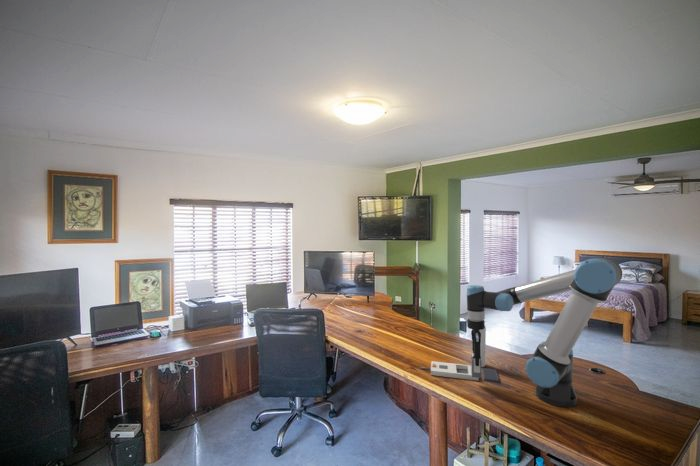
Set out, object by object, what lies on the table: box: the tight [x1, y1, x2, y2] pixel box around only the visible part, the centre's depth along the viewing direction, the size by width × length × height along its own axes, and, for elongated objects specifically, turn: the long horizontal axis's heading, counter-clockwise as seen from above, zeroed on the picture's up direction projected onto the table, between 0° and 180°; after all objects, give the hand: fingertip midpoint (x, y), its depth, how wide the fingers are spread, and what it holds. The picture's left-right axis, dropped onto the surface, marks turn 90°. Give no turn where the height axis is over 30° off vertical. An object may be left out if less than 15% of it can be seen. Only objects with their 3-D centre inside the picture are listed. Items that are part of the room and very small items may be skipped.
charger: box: [470, 356, 482, 379], centre depth 155 cm, size 4×4×8 cm
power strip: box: [419, 360, 480, 382], centre depth 169 cm, size 28×12×3 cm, turn 75°
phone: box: [481, 367, 500, 383], centre depth 164 cm, size 6×12×2 cm, turn 163°
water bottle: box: [471, 326, 487, 368], centre depth 178 cm, size 9×6×25 cm
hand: (476, 370), depth 155 cm, fingers closed on charger, 4 cm apart
